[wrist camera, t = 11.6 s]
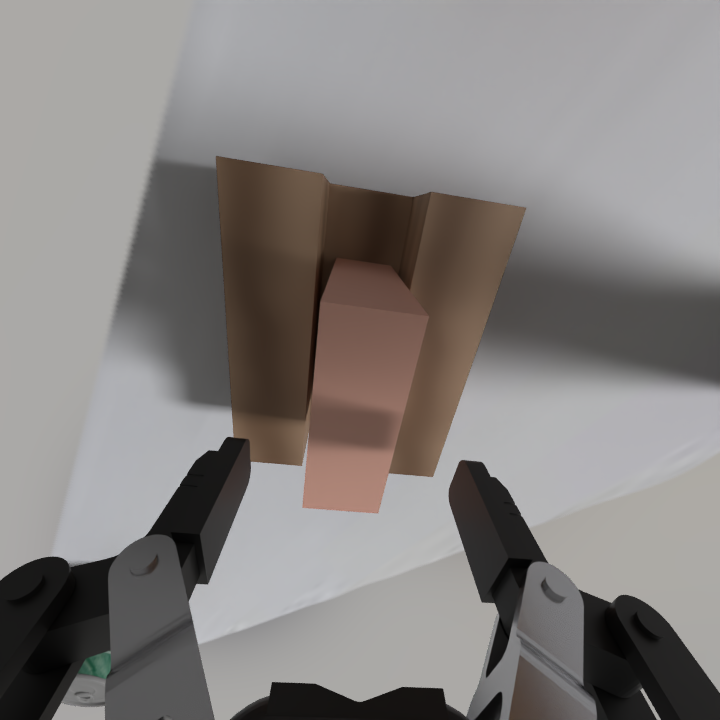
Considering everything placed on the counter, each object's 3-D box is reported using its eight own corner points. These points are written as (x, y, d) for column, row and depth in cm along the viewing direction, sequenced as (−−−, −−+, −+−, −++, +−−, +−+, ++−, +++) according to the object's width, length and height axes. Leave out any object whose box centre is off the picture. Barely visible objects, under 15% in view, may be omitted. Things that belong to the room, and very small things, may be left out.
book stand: (479, 209, 21) (526, 207, 16) (417, 426, 30) (432, 476, 24) (255, 172, 20) (215, 156, 14) (258, 410, 29) (235, 460, 23)
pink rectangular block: (391, 265, 22) (429, 316, 11) (367, 391, 26) (378, 513, 16) (336, 257, 21) (320, 301, 10) (323, 386, 26) (302, 507, 15)
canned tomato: (110, 559, 39) (28, 675, 29) (173, 565, 40) (114, 680, 30) (119, 591, 42) (48, 705, 32) (176, 596, 43) (124, 708, 33)
